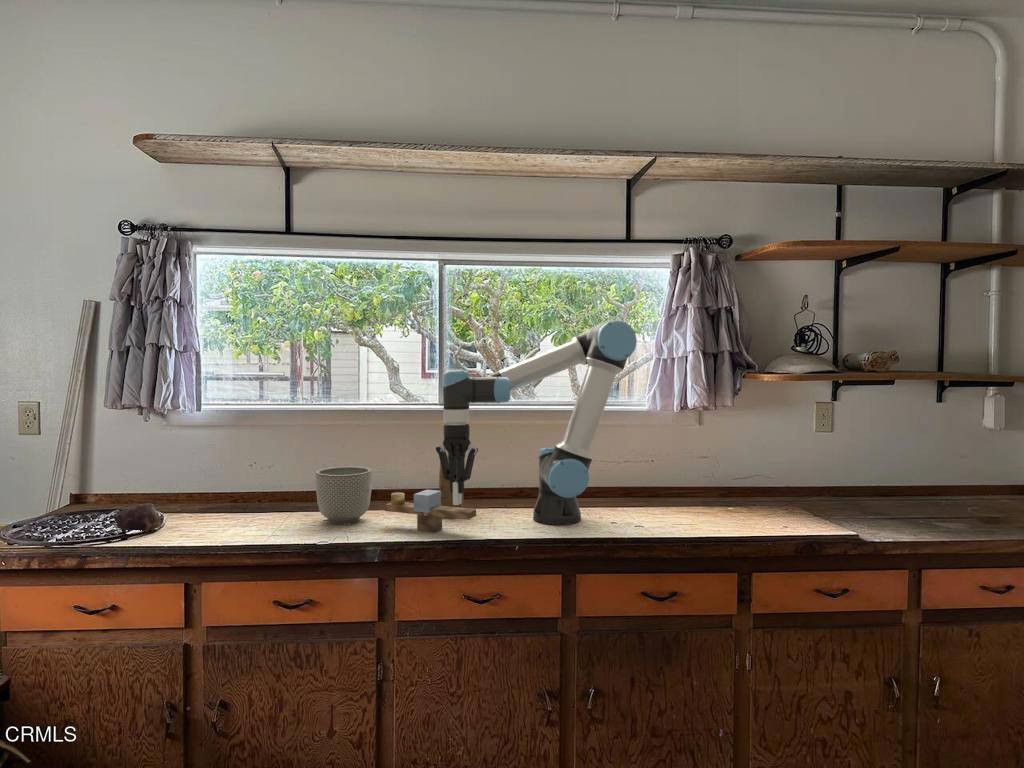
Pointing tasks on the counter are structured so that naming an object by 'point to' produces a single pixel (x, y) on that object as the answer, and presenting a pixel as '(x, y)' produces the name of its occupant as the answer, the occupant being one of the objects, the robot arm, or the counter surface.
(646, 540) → the counter surface
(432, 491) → the rider
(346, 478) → the planter
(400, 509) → the beam
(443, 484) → the block
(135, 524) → the rock
